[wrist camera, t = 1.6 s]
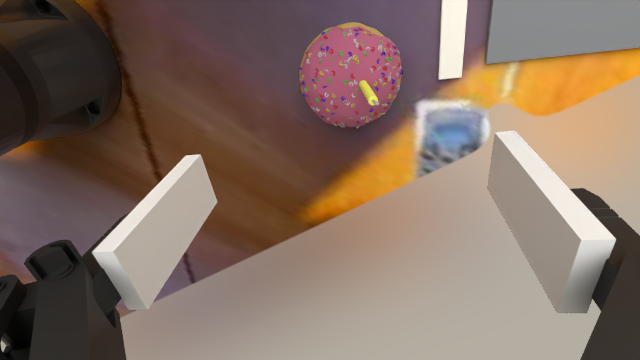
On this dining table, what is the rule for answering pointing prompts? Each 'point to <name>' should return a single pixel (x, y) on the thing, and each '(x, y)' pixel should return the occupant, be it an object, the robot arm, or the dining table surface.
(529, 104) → the dining table surface
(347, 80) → the cupcake
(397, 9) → the dining table surface
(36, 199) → the dining table surface
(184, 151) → the dining table surface
